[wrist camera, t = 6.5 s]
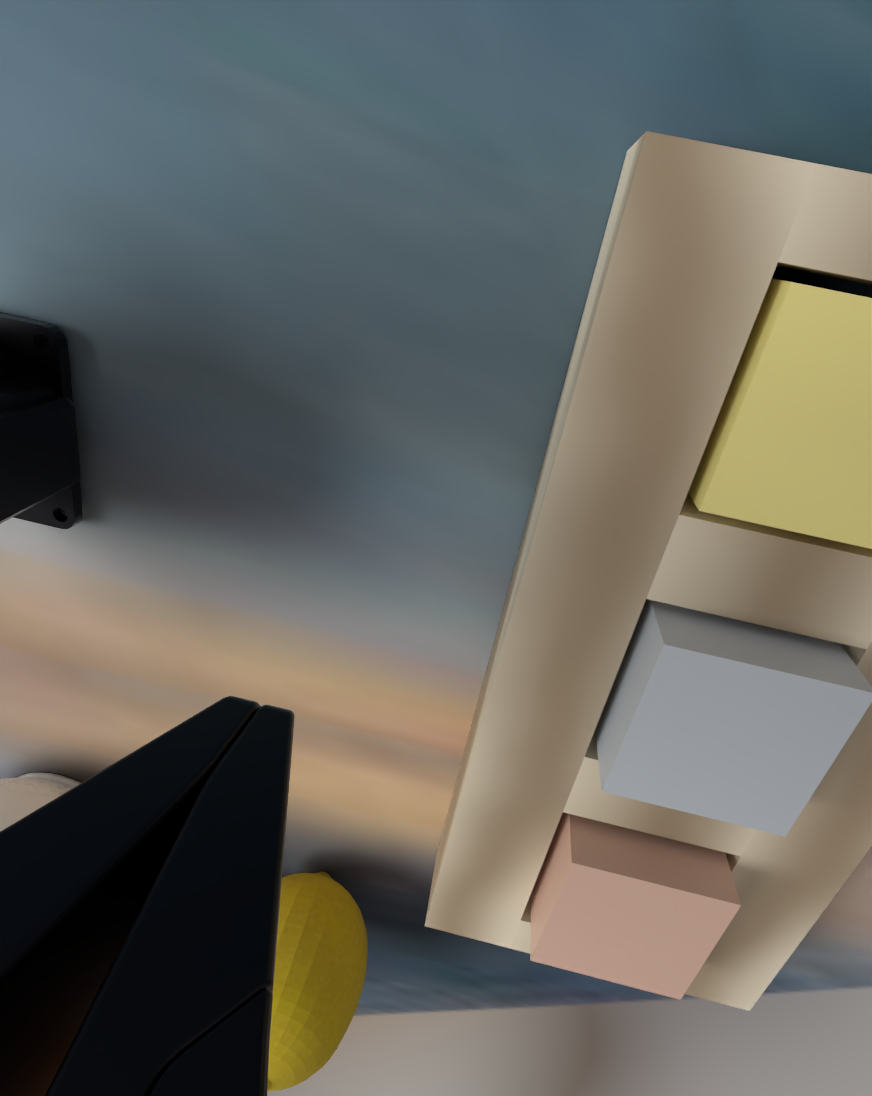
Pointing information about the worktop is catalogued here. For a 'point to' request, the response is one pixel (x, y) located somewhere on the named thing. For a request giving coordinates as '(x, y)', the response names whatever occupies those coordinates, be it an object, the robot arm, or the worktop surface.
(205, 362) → the worktop surface
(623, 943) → the clay button
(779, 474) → the yellow button
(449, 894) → the button board
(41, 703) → the worktop surface
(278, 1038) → the lemon
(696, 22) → the worktop surface
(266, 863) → the robot arm
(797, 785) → the grey button
